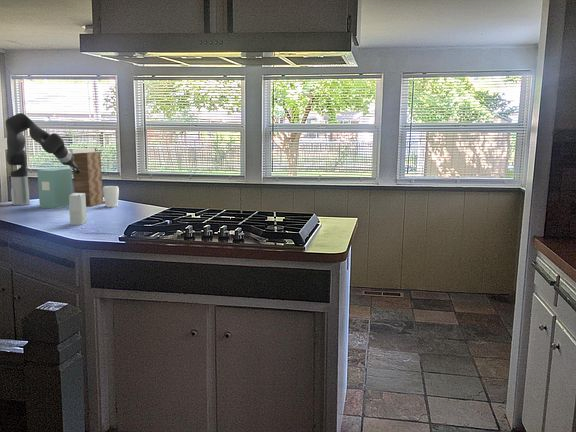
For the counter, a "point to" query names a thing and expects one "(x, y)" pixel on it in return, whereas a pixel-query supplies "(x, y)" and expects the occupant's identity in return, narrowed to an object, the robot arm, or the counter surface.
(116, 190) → the cup
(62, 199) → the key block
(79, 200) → the skincare box
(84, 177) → the stand
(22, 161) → the robot arm
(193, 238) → the counter surface
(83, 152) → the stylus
